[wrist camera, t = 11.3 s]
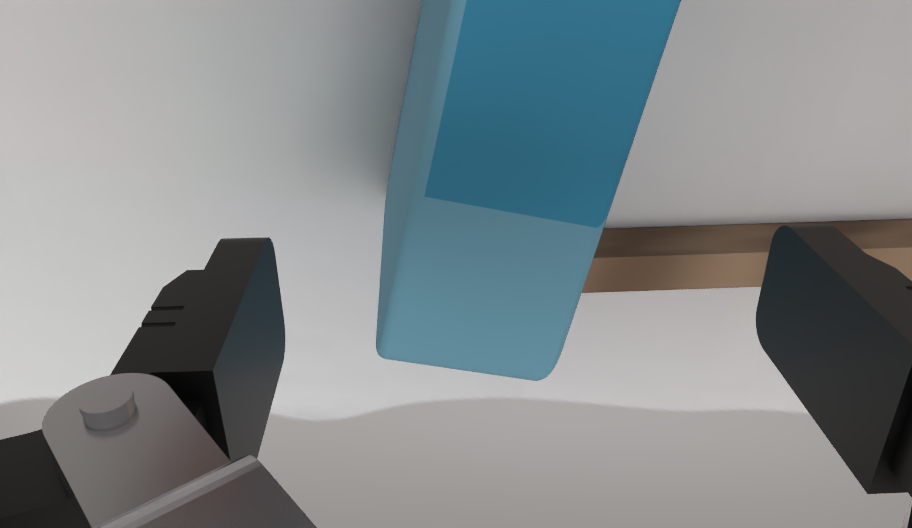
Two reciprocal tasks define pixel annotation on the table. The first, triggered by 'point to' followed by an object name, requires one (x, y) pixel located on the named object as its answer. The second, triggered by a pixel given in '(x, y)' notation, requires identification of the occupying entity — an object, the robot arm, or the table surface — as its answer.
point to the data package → (508, 174)
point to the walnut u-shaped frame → (720, 254)
